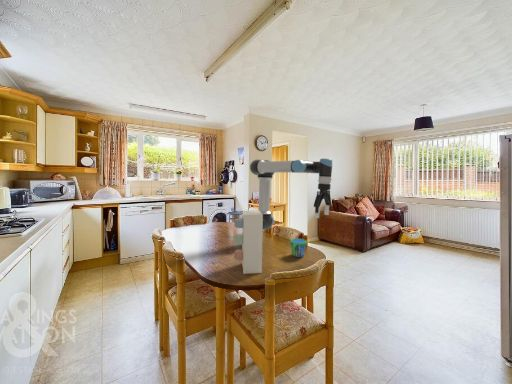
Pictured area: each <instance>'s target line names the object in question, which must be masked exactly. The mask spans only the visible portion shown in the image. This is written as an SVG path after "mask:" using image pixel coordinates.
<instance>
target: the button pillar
mask: <svg viewBox="0 0 512 384" xmlns="http://www.w3.org/2000/svg"><path fill="white" fill-rule="evenodd" d="M241 215H242V217H241V219H243V228H241V229H242V230H241V232H242V233H241V234H243V244H242V247H241V250H243V260H241V265H242V272H243V274H244V275H245V274H246V275H247V274H262V273H263V231H264V230H263V214H262V213H261V212H260V211H258V210H242V214H241Z"/></svg>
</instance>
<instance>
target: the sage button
mask: <svg viewBox="0 0 512 384" xmlns="http://www.w3.org/2000/svg"><path fill="white" fill-rule="evenodd" d="M233 240H234V242H233V243H235V244H236V245H241V244H243V234H242V233H240V234H239V233H237V234H235V235H234V239H233Z"/></svg>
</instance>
